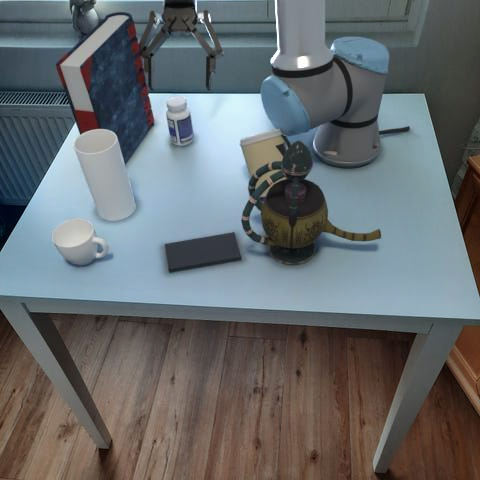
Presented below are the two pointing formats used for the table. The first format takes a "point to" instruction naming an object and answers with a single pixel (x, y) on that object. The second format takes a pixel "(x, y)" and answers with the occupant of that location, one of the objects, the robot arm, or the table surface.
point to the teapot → (292, 209)
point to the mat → (202, 252)
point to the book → (109, 82)
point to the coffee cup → (263, 153)
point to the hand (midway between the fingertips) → (179, 88)
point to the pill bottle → (179, 121)
